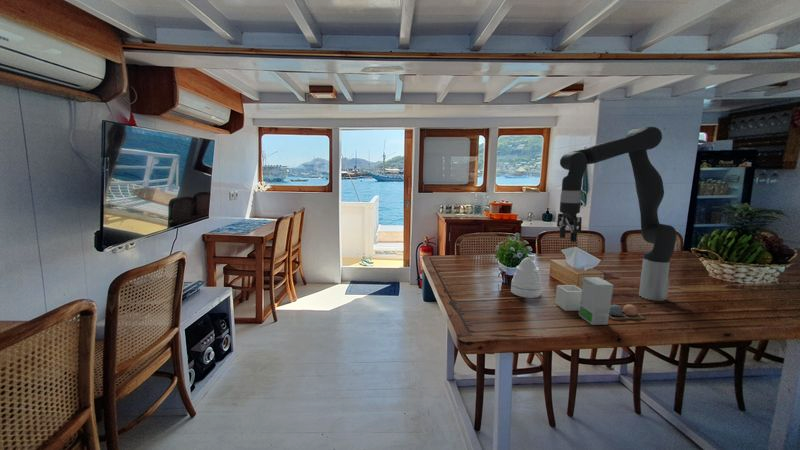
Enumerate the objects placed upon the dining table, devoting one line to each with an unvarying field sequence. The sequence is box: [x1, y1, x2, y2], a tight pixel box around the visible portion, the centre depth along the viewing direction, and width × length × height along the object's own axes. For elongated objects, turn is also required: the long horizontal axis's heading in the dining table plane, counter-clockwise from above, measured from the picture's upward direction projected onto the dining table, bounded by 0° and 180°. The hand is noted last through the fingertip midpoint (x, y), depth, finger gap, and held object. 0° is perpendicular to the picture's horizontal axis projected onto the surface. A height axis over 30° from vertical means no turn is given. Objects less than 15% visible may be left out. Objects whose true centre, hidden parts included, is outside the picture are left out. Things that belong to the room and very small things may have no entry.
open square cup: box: [554, 284, 582, 312], centre depth 134 cm, size 8×8×8 cm
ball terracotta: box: [622, 303, 638, 317], centre depth 126 cm, size 4×4×4 cm
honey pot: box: [510, 254, 542, 299], centre depth 149 cm, size 13×13×18 cm
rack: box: [609, 309, 646, 321], centre depth 126 cm, size 13×7×1 cm, turn 93°
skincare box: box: [578, 276, 614, 326], centre depth 121 cm, size 8×7×16 cm
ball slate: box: [609, 304, 623, 317], centre depth 126 cm, size 4×4×4 cm
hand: (567, 239), depth 137 cm, fingers open, 8 cm apart
